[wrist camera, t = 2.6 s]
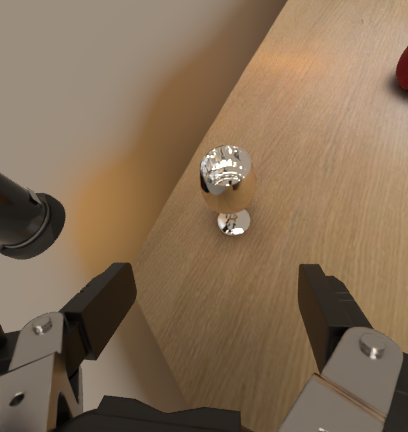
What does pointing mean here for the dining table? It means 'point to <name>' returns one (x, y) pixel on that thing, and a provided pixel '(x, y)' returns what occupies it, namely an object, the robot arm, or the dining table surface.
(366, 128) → the dining table surface
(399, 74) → the apple
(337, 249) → the dining table surface
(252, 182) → the wineglass
